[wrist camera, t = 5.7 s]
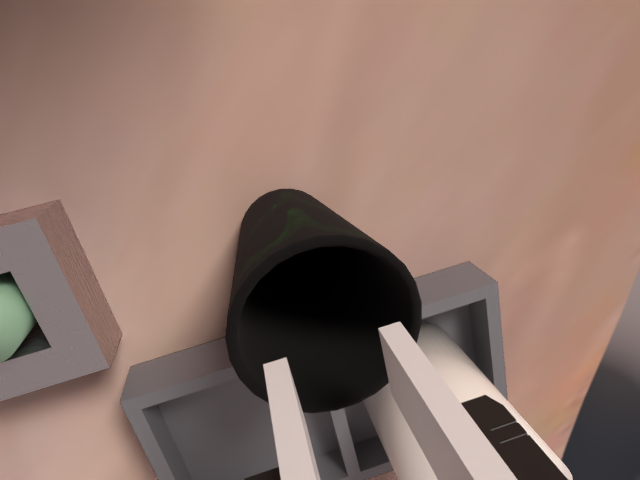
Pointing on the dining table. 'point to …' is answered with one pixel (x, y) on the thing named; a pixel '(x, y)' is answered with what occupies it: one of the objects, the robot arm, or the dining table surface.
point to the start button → (13, 316)
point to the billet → (463, 383)
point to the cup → (314, 302)
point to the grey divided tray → (324, 428)
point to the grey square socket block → (54, 302)
